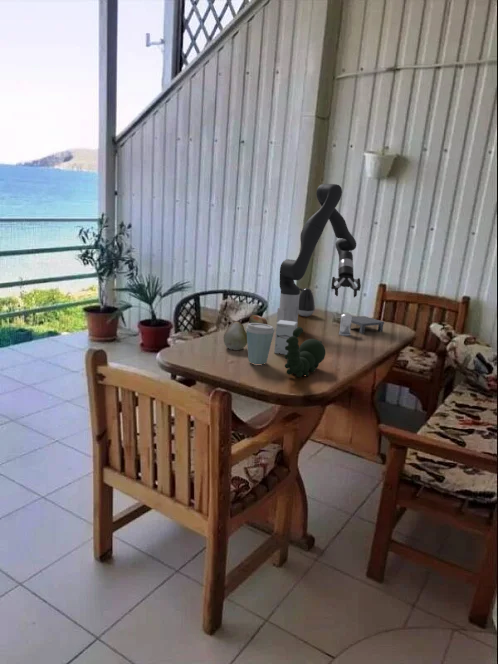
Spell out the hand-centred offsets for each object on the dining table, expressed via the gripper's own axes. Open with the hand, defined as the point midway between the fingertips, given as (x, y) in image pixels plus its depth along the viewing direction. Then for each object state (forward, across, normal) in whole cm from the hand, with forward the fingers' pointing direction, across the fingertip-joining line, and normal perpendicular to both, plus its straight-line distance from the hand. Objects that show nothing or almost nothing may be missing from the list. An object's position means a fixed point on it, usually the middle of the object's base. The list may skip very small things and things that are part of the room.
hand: (345, 295), depth 248 cm
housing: (+20, 0, +3) cm, 20 cm away
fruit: (+48, -48, -25) cm, 72 cm away
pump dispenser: (-7, -19, +31) cm, 37 cm away
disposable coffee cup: (+60, -37, -37) cm, 80 cm away
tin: (+28, -41, -5) cm, 50 cm away
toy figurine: (+64, -20, -42) cm, 80 cm away
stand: (+11, +10, +13) cm, 20 cm away
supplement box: (+47, -28, -25) cm, 60 cm away
